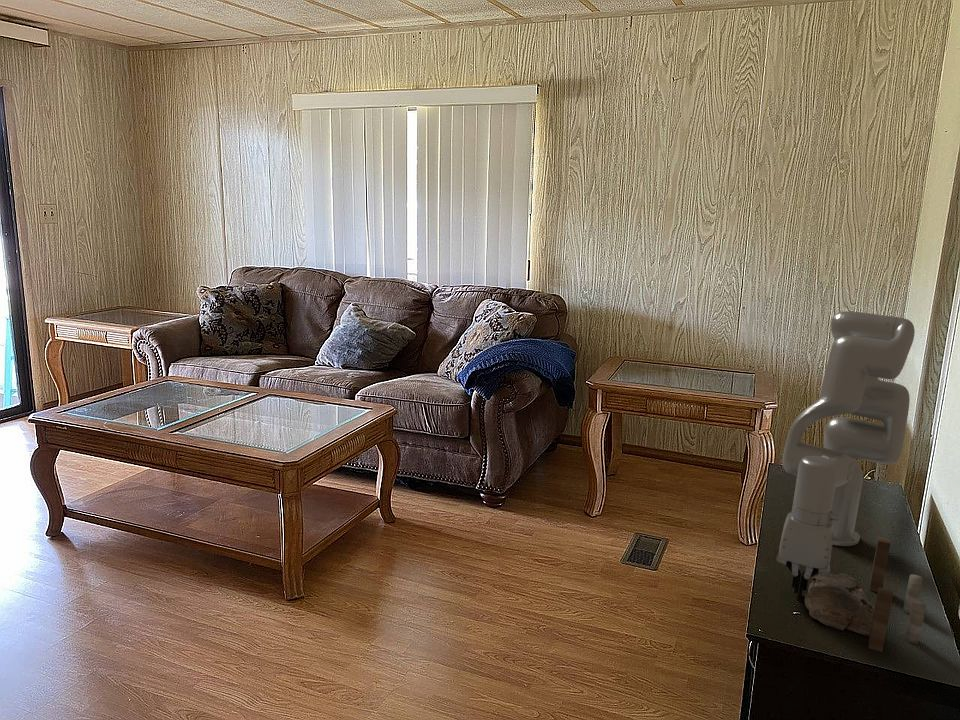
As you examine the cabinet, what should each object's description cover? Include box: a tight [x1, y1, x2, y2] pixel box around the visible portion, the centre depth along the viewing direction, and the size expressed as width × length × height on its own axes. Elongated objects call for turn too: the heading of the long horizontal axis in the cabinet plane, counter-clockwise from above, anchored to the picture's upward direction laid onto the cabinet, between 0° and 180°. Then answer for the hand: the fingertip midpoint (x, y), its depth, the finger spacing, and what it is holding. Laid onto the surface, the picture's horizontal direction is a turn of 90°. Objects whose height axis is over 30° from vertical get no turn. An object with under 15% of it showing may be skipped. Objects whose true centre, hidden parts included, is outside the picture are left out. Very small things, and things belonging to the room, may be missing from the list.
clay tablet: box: [804, 572, 875, 637], centre depth 159 cm, size 14×5×20 cm
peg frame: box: [868, 536, 927, 653], centre depth 154 cm, size 27×9×12 cm, turn 153°
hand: (798, 591), depth 163 cm, fingers closed
